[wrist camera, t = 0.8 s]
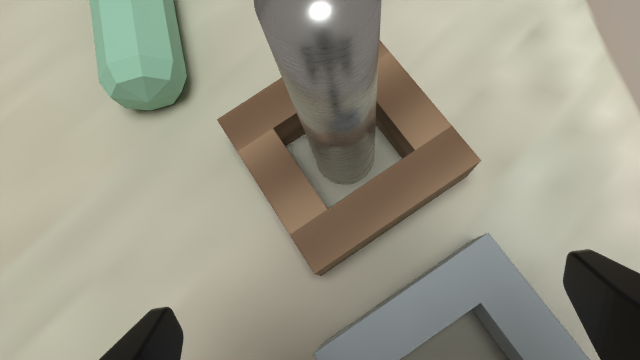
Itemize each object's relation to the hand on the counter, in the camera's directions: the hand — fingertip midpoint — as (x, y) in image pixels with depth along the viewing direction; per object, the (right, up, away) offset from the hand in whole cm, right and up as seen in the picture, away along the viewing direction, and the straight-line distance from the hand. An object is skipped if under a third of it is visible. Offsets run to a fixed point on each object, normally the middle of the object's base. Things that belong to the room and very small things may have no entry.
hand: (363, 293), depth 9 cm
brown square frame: (+1, +4, +15) cm, 15 cm away
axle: (+1, +4, +15) cm, 15 cm away
